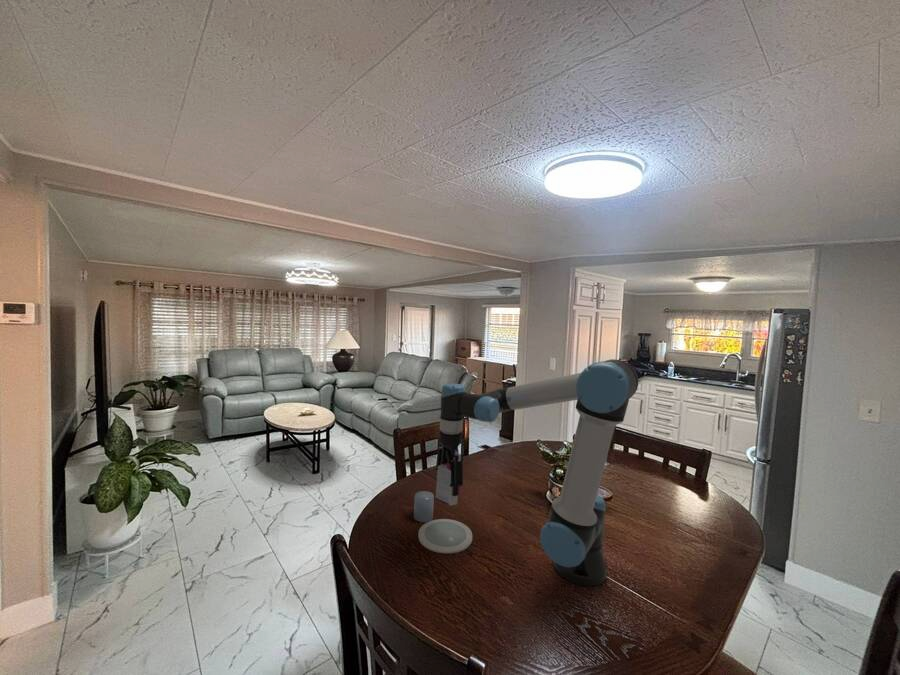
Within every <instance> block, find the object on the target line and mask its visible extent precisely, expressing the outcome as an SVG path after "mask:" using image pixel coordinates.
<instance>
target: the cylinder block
mask: <svg viewBox="0 0 900 675" xmlns="http://www.w3.org/2000/svg"><path fill="white" fill-rule="evenodd" d="M434 499H435V495H434V493H433V492H431V491H428V490H427V491H426V490H422V491H418V492H416V493H415V494H414V501H413V504H414V505H413V519H414V520H415V521H416V522H420V523H427V522H429V521H432V520H434V519H433V518H434V503H435V502H434Z"/></svg>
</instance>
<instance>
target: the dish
mask: <svg viewBox="0 0 900 675" xmlns="http://www.w3.org/2000/svg"><path fill="white" fill-rule="evenodd" d="M417 535H418V536H417V537H418V541H419V543H420V544H421V545H422V546H423V548H426V549H427V550H429V551H431V552H435V553H439V554H450V555H451V554H456V553H460V552H463V551H466V549H467V548H469V547H470V546H471V544H472V542H473V533H472V530H471V529H470V528H469V526H467V525H466V524H464V523H463V522H460V521H458V520H455V519H449V518H440V519H439V518H438V519H432V520H431V521H429V522H424V524H422V525H421V526H420V528H419V530H418V534H417Z"/></svg>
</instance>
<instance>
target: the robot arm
mask: <svg viewBox="0 0 900 675" xmlns="http://www.w3.org/2000/svg"><path fill="white" fill-rule="evenodd" d="M441 387H442V388H441V396H440V416H439V432H438V434H439V436H438V438H439V439H438V442H437V456H436V464H435V470H436V471H438V466H439V465H442V464H444V463H448V464H449V467H450V470H451V485H450V494H449V505H448V506H455V505H458V500H459V499H458V487H459V486H460V487H463V484H464V481H463V480H464V478H463V476H464V475H463V474H464V472H463V467H464V466H463V462H464V461H463V460H464V454H463V453H462V454H460V453H459V446H460V445H461V444H462V442H463V423H464V418H465V417H466V418H469V419H472V420H477V421H480V422H482V423H483V422H486V423H492V422H493V423H494V421H496V419H497V418H498V415H499V414H500V413H504V412H509V411H515V410H522V409H529V408H534V407H540V406H546V405H553V404H560V403H565V402H572V401H576V403H575V409H576V411H577V413H578V414H579V419H578V422H577V426H576V430H575V434H574V439H573V442H572V448H571V450H570V454H569V458H568V463H567V467H566V471H565V475H564V480H563V483H562V487H561V491H560V496H559V497H557V498H554V499H553V500H552V502H551V503H552V504H551V507H550V511H549V514H548V519H547V521H546V522H545V523H544V524H543V526H542V527H541V530H540V533H539V542H540V546H541V548H542V549H543V550H544V552H545V555H546V556H547V557H548V558H549V559H550V560H551V561H553V567H554V569H555V571H556V572H557V573H558V574H559V575H560V576H561V577H563V579H566V580H567V581H569V582H572V583H574V584H577V585H580V586H585V587H595V586H599V585H601V584H603V583H604V582H605V581H606V580H607V574H608V567H607V563H606V561H605V555H604V551H603V540H604V529H605V517H606V516H605V515H606V512H607V510H606V501H605V499H604V498H603V497H602V496H600V495H599V493H598V492H599V488H600V485H601V481H602V477H603V473H604V469H605V465H606V462H607V458H608V454H609V450H610V447H611V443H612V439H613V435H614V431H615V428H616V426H617V425H619V424H621V423H623V422H624V420H625V416H626V413H627V410H628V406H629V401H630V399H631V398H632V397H633V396H634V395H635V394H636V393H637V391H638V387H639V376H638V374H637V371H636V370H635V368H634V367H633V366H631V365H630V363H628V362H626V361H623V360H621V359H616V358H615V359H607V360H604V361H597V362H594V363H591V364H589V365H588V366H587V367H585V368H584V369H583V370H582V371H581V372H578V373H574V374H569V375H563V376H559V377H554V378H548V379H543V380H540V381H539V380H538V381H535V382H529V383H525V384H524V383H523V384H520V385H515V386H510V387H505V388H499V389H495V390H492V391H488V392H484V393H480V394H475V393H474V394H473V393H468V392H466V388H465V386H464V385H463V384H460V383H452V382H450V383H445V384H443V385H442V386H441Z"/></svg>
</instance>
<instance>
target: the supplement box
mask: <svg viewBox="0 0 900 675" xmlns="http://www.w3.org/2000/svg"><path fill="white" fill-rule="evenodd" d="M450 485H451V470H450V467H449V464H448V463H444V464H442V465H439V466H438V470H437V476H436V488H435V501H438V502H440V503H443V504H445V505H448V506H450V505H449V494H450ZM460 487H461V486H459V487H458V500H459V499H460V498H459V497H460Z"/></svg>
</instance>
